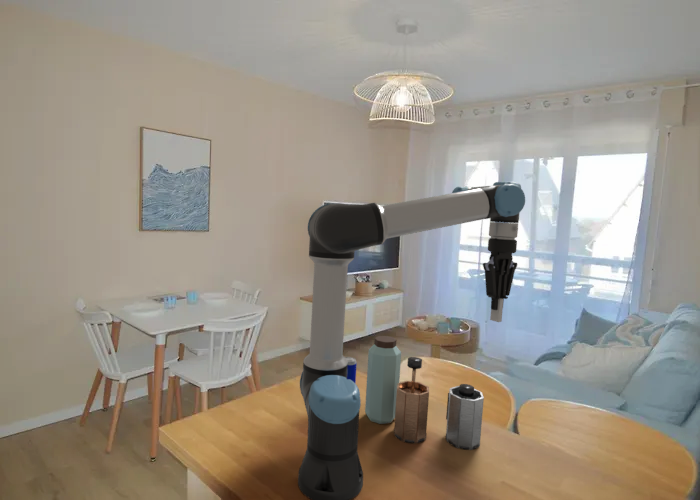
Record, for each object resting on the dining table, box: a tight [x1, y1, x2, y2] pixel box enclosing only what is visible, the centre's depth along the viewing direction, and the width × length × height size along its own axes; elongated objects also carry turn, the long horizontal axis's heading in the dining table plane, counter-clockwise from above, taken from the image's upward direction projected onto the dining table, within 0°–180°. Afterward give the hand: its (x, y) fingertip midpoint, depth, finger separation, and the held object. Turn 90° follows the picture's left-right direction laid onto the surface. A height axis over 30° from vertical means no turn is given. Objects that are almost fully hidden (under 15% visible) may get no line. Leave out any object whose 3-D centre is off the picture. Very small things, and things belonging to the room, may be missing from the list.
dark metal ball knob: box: [458, 383, 475, 399], centre depth 116 cm, size 7×7×11 cm
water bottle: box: [364, 335, 402, 425], centre depth 127 cm, size 10×10×25 cm
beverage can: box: [344, 356, 358, 384], centre depth 136 cm, size 5×5×15 cm
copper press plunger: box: [403, 356, 423, 394], centre depth 118 cm, size 7×7×11 cm
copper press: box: [393, 380, 430, 444], centre depth 119 cm, size 9×10×14 cm
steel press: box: [445, 385, 485, 451], centre depth 117 cm, size 9×10×14 cm
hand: (495, 320), depth 117 cm, fingers closed
